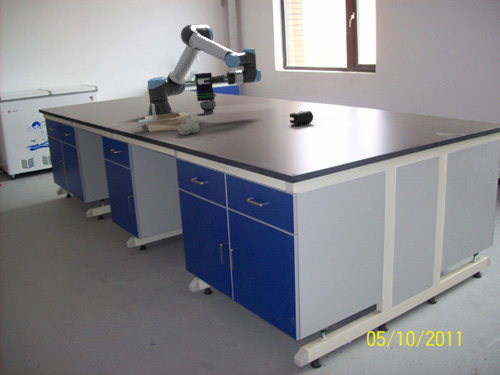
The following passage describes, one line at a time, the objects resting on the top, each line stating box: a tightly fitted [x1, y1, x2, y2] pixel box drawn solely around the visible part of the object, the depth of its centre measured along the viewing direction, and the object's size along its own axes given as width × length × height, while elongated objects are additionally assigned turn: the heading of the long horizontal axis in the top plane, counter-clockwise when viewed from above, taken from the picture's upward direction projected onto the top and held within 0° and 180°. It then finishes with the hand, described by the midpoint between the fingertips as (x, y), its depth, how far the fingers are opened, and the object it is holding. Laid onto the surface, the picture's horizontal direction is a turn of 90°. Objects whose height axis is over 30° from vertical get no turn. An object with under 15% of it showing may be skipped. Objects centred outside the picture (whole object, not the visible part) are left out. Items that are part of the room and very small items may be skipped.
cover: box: [138, 104, 157, 125], centre depth 271 cm, size 9×9×9 cm
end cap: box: [289, 110, 314, 127], centre depth 258 cm, size 10×7×7 cm
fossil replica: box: [177, 117, 202, 136], centre depth 256 cm, size 12×8×10 cm
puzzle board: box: [144, 111, 193, 133], centre depth 284 cm, size 30×24×5 cm
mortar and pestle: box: [199, 92, 217, 115], centre depth 322 cm, size 11×9×12 cm
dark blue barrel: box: [194, 72, 215, 102], centre depth 291 cm, size 10×10×15 cm
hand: (196, 81), depth 289 cm, fingers closed on dark blue barrel, 10 cm apart
